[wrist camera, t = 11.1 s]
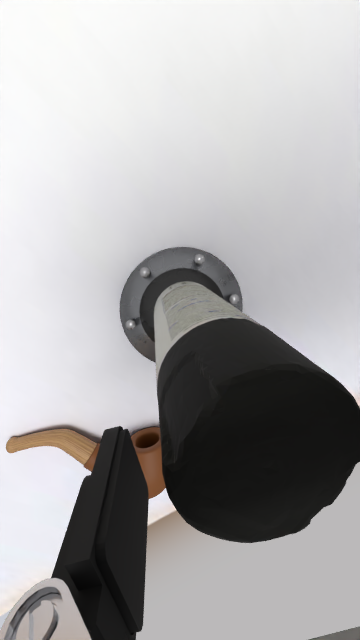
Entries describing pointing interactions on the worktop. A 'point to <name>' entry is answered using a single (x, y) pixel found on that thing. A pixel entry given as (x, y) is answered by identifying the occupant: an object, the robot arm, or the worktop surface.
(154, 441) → the pipe
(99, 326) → the worktop surface
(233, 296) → the flange
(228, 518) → the spray can
